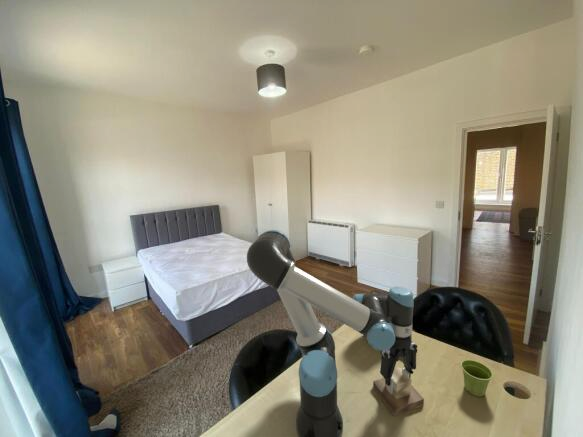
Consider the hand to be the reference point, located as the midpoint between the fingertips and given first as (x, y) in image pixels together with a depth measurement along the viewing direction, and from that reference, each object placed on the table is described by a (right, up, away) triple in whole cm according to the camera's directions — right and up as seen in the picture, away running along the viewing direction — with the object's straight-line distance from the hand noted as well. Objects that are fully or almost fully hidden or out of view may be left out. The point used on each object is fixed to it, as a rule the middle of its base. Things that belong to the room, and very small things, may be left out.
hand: (397, 388), depth 90 cm
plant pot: (+29, -2, +2) cm, 29 cm away
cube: (0, 0, 0) cm, 0 cm away
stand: (0, -3, +1) cm, 3 cm away
